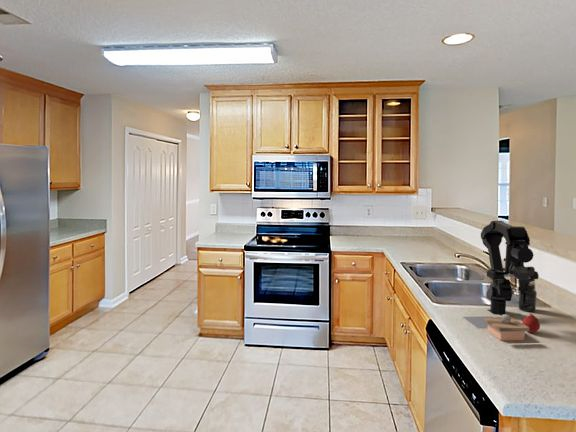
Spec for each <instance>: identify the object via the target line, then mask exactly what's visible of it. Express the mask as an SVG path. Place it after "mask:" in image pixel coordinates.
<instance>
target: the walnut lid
mask: <svg viewBox="0 0 576 432" xmlns="http://www.w3.org/2000/svg"><path fill="white" fill-rule="evenodd" d="M484 321H485V322H487V323H488V324H490V325H491V326H493V327H494V328H496V329H497V330H499V331H525V332H528V331H529V327H527V326H526V325H524V324H522V321H521V322H520V321H519V320H517V319H515V318H514V317H512V316H511V315H509V314H505V315H502V316H497V317H495V316H492V317H488V318H484Z"/></svg>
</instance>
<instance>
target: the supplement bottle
mask: <svg viewBox="0 0 576 432" xmlns="http://www.w3.org/2000/svg"><path fill="white" fill-rule="evenodd" d="M535 287H536V284H535V283H532V282H530V283H529V285H528V286H527V288H526V290H525V292H524V294H523V295H521V293H520V290H519V291H518V292H519V294H518V309H519V310H520V311H522V312H527V313H533V312H536V311H537V309H536V308H537V295H538V294H537V290H536V288H535Z"/></svg>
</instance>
